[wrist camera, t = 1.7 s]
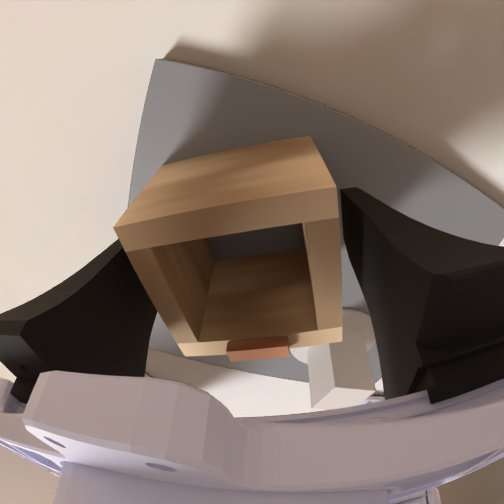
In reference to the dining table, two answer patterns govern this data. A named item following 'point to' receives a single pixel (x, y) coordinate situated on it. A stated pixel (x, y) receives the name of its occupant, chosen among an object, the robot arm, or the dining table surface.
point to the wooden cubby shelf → (245, 268)
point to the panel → (291, 236)
